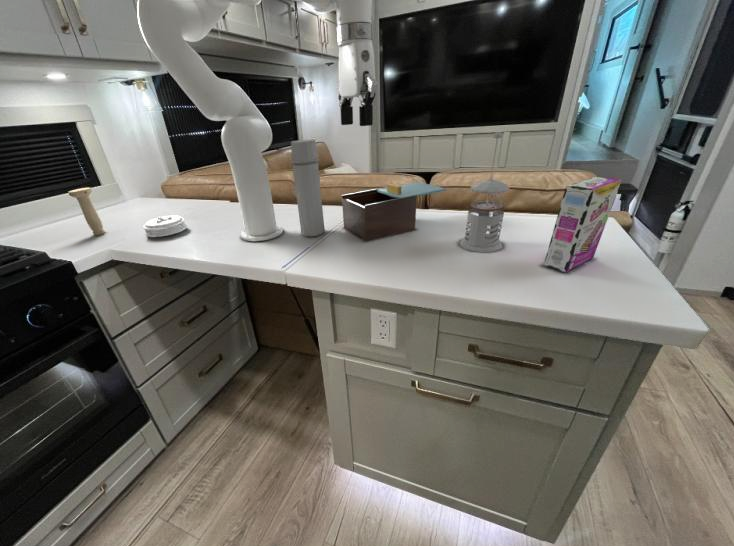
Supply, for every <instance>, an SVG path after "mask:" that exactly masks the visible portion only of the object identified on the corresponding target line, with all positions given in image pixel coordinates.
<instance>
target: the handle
mask: <svg viewBox="0 0 734 546" xmlns="http://www.w3.org/2000/svg"><path fill="white" fill-rule="evenodd" d="M67 193H68V195H69V196H70V197H72V198H75V199H76V200H77V202H78V204H79V206H80V210H81V212H82V214H83V218H84V220H85V221H86V223H87V225H88V227H89V229H90V230H91V231H92V234H93V235H94V236H101V235H104V234H105V229H104V225H103V223H102V221H101V218H100V215H99V213H98V212H97V210H96V208H95V206H94V204H93V202H92V200H91V198H90V195H91V193H92V188H91V187H80V188H75V189H72V190H68V191H67Z"/></svg>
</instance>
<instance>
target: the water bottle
mask: <svg viewBox="0 0 734 546" xmlns="http://www.w3.org/2000/svg"><path fill="white" fill-rule="evenodd" d="M290 150H291V151H290V152H291V160H290V163H291V164H292V173H293V181H294V189H295V194H296V195H295V196H296V203H297V204H296V205H297V210H298V211H297V212H298V218H299V226H300V233H301V234H302V236H304V237H310V238H311V237H318V236H321V235H323V234H324V233H325V231H326V230H325V221H324V210H323V199H322V198H323V197H322V189H321V179H320V168H319V167H320V166H319V162H318V161H321V159H319V153H318V148H317V142H316V139H312V138H311V139H300V140H299V139H298V140H292V141H290Z"/></svg>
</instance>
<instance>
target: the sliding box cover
mask: <svg viewBox="0 0 734 546" xmlns="http://www.w3.org/2000/svg"><path fill="white" fill-rule="evenodd" d="M386 187H387V188H384V187H383V188H384V189H379V190H377V192H379V193H382V194H385V195H388V196H391V197H394V198H397V199H398V198H403V197H408V196H413V195H417V198H418V197H422V196H426V195H431V194H432V195H433V194H437V193H442V192H446V191H447V188H446V187H442V186H436V185H432V184H429V183H425V182H420V181H417V182H412V183H405V184H401V185H396V184H394V183H386Z"/></svg>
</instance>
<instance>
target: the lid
mask: <svg viewBox="0 0 734 546" xmlns="http://www.w3.org/2000/svg"><path fill="white" fill-rule="evenodd" d="M187 227H188V226H187V224H186V223H185V218H184V217H182V216H180V215H177V214H176V215H175V214H174V215H173V214H171V215H163V216H158V217H155V218H152V219H149V220H147V221H145V223H144V224H143V226H142V228H143V229H144V232H145V236H146V237H149V238H157V237H158V238H159V237H160V238H161V237H165V236H166V237H167V236H171V235H174V234H178V233H180V232H182V231H185V230H186V229H187Z"/></svg>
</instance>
